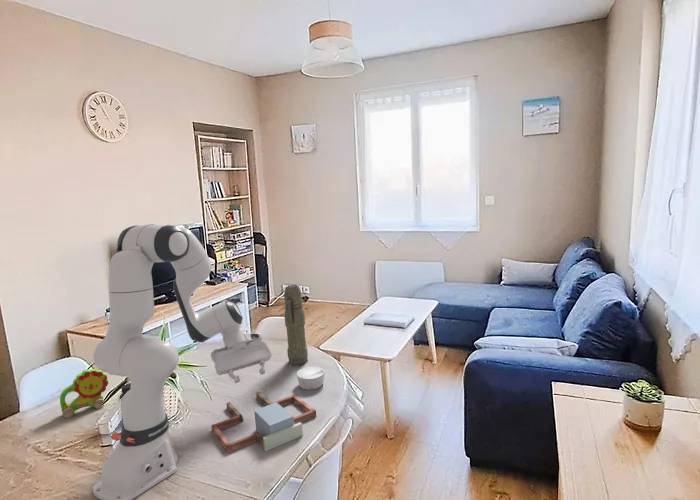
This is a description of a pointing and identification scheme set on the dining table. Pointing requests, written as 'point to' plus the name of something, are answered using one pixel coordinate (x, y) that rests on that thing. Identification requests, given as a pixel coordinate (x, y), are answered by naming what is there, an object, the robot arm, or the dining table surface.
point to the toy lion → (85, 391)
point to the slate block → (272, 419)
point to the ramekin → (310, 377)
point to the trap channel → (256, 436)
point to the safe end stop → (282, 436)
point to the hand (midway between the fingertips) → (250, 377)
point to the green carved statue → (295, 326)
